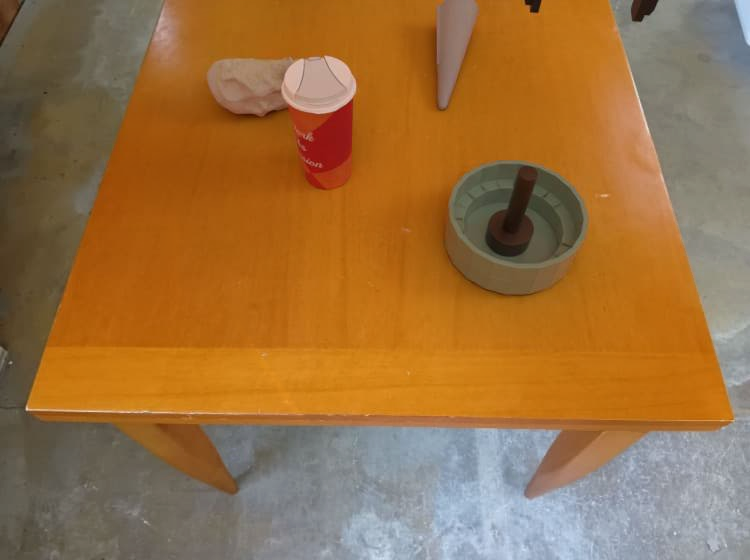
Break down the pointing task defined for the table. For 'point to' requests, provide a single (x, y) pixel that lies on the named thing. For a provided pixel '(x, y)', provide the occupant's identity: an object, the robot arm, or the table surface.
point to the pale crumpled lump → (249, 84)
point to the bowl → (545, 209)
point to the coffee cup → (322, 118)
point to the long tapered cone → (452, 43)
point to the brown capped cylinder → (513, 218)
